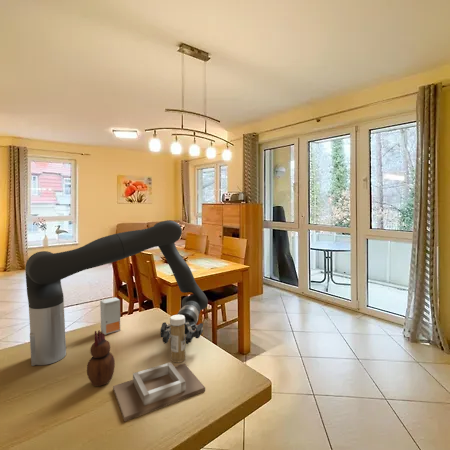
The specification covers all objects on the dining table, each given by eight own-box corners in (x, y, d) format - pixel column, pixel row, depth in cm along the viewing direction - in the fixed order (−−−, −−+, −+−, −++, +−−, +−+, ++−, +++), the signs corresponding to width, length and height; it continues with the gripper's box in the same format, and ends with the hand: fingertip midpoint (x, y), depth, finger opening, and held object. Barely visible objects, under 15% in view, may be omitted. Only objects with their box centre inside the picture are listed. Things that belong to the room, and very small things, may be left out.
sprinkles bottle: (188, 360, 90) (187, 317, 89) (174, 364, 87) (173, 320, 86) (181, 353, 93) (181, 312, 92) (168, 358, 91) (167, 315, 90)
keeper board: (124, 421, 65) (124, 406, 64) (113, 389, 76) (112, 376, 75) (205, 391, 75) (204, 377, 75) (184, 366, 86) (184, 355, 86)
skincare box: (104, 335, 107) (103, 303, 106) (100, 331, 110) (99, 300, 109) (121, 330, 111) (120, 299, 110) (116, 326, 114) (115, 296, 113)
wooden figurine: (97, 392, 74) (94, 335, 73) (83, 385, 78) (81, 330, 76) (119, 379, 80) (117, 325, 79) (106, 372, 83) (104, 321, 82)
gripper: (166, 308, 104) (152, 328, 87) (206, 308, 103) (199, 329, 86) (167, 328, 105) (152, 352, 88) (207, 329, 104) (200, 353, 87)
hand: (176, 340), depth 87 cm, fingers open, 6 cm apart
